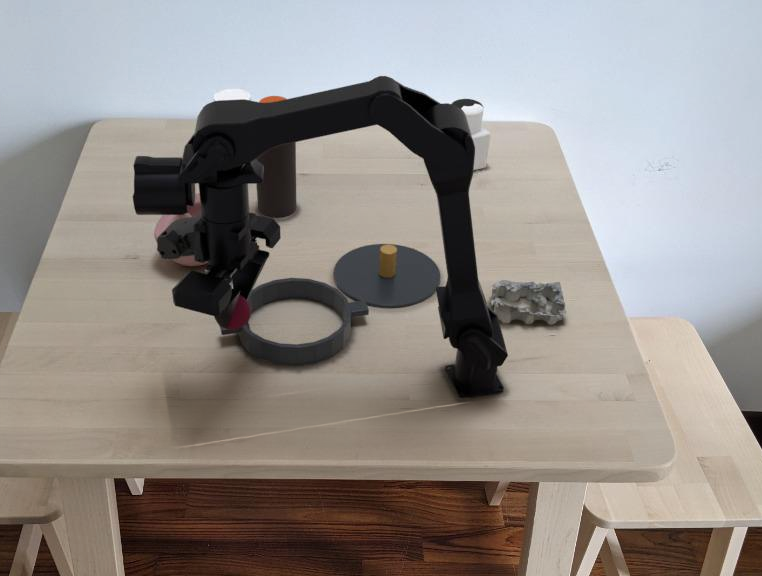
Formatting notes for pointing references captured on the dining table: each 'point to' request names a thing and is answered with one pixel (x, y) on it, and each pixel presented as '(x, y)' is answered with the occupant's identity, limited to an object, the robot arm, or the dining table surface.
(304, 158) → the dining table surface
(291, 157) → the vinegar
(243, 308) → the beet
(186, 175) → the robot arm
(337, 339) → the pot
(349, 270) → the pot lid
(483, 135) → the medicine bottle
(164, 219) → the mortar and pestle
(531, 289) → the egg carton
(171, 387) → the dining table surface
